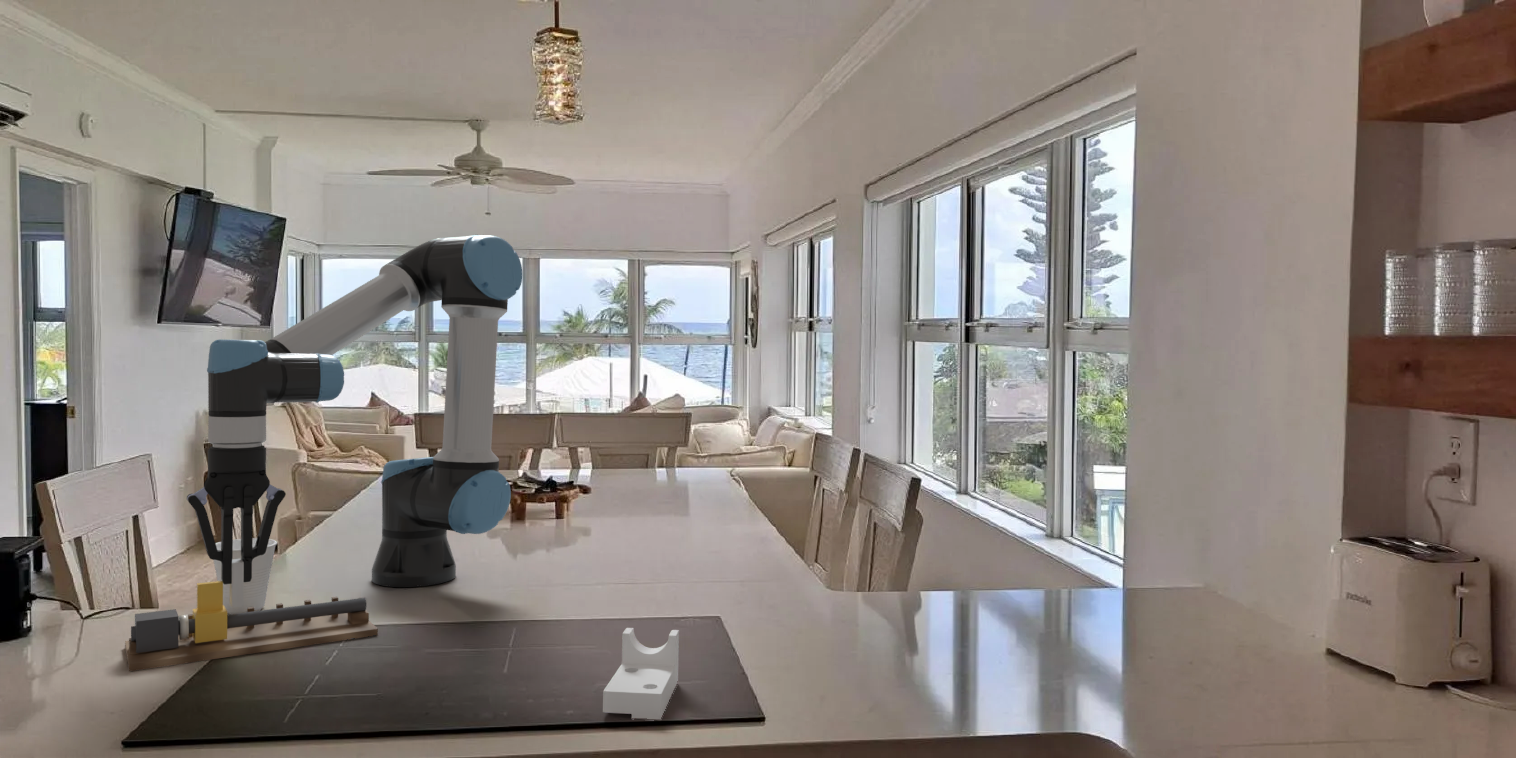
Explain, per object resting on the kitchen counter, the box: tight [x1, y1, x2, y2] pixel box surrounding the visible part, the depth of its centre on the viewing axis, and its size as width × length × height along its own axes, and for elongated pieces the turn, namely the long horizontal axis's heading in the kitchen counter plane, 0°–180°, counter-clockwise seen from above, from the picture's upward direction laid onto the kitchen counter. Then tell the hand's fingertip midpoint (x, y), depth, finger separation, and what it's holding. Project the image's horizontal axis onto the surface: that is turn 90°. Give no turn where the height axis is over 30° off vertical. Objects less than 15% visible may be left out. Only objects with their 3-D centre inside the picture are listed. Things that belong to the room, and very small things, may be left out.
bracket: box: [602, 627, 680, 720], centre depth 124 cm, size 13×7×8 cm, turn 176°
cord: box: [130, 597, 367, 641], centre depth 144 cm, size 31×2×2 cm, turn 125°
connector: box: [134, 608, 189, 653], centre depth 138 cm, size 6×4×4 cm
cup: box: [212, 537, 278, 615], centre depth 161 cm, size 10×10×11 cm
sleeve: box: [192, 580, 228, 643], centre depth 141 cm, size 4×4×8 cm
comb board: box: [124, 596, 379, 672], centre depth 144 cm, size 32×12×4 cm, turn 125°
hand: (236, 604), depth 143 cm, fingers closed
